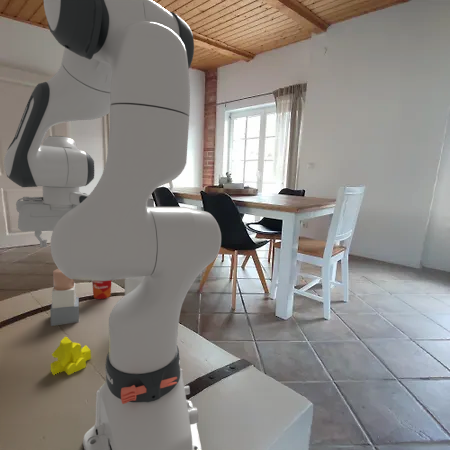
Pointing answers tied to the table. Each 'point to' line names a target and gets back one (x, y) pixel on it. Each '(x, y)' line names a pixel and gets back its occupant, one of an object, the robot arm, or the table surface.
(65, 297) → the tower top block
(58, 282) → the peach rounded cylinder
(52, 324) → the tower base block
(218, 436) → the table surface
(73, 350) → the yellow crystal cluster
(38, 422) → the table surface
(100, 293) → the paper cup
